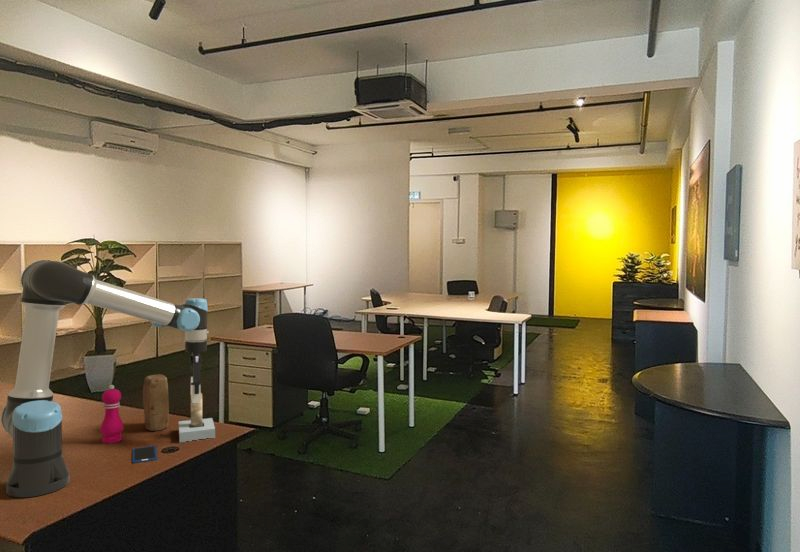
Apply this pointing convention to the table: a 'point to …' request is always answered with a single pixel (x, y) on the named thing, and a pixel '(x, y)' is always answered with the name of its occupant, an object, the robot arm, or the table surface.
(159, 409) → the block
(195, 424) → the peg
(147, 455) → the cell phone
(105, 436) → the pepper mill
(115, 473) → the table surface
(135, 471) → the table surface
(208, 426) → the board
